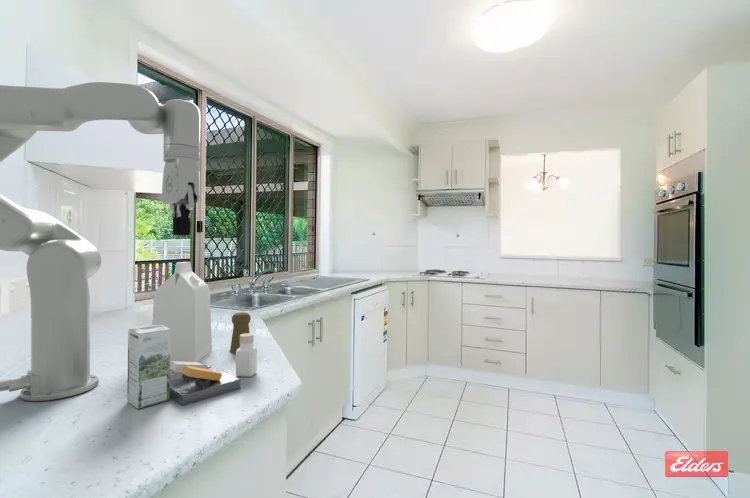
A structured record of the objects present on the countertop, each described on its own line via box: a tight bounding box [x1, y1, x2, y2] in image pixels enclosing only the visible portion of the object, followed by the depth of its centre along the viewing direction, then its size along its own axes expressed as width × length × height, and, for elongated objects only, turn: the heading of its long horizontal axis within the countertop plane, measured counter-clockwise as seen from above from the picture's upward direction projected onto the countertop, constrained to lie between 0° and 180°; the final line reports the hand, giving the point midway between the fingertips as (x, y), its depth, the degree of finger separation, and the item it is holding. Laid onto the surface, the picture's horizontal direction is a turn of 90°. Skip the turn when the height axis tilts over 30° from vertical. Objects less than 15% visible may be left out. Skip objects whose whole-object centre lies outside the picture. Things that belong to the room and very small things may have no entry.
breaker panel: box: [169, 364, 242, 407], centre depth 81 cm, size 12×14×3 cm
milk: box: [151, 261, 213, 362], centre depth 103 cm, size 12×12×26 cm
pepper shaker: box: [229, 311, 251, 354], centre depth 110 cm, size 6×6×11 cm
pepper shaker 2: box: [235, 332, 258, 378], centre depth 89 cm, size 4×4×10 cm
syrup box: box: [126, 325, 171, 410], centre depth 73 cm, size 6×6×14 cm
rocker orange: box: [182, 365, 222, 381], centre depth 78 cm, size 7×3×2 cm, turn 139°
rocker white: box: [170, 361, 209, 373], centre depth 82 cm, size 7×3×2 cm, turn 139°
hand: (181, 234), depth 87 cm, fingers closed
